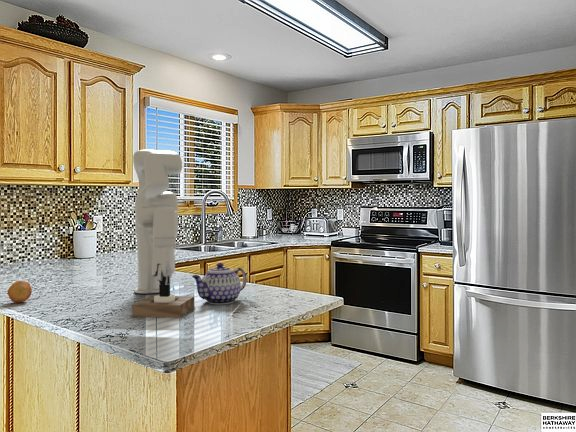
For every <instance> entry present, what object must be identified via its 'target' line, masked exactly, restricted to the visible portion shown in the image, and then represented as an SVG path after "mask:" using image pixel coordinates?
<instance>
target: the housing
mask: <svg viewBox="0 0 576 432" xmlns="http://www.w3.org/2000/svg"><path fill="white" fill-rule="evenodd" d="M154 296H155V295H149V296H147V297H145V298H143V299H141V300H140V301H137V302H134V303H132V305H131V309H132V310H131V312H132V314H131V315H132V318H133V317H134V318H135V317H136V318H173V319H174V318H177V319H179V318H182V317H183V316H184V315H185V314H187V313H188V312H190V311H192V309H194V308H195V296H194V295H193V296H191V295H185V296H184V295H175V301H174V302H172V303H157V302H154Z"/></svg>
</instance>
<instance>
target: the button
mask: <svg viewBox="0 0 576 432" xmlns="http://www.w3.org/2000/svg"><path fill="white" fill-rule="evenodd" d="M153 296H154V302H157V303H172V302H174V301H175V296H176V295H175V294H171V293H170V296H168V297H160V296H159V294H157V295H153Z"/></svg>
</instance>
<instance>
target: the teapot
mask: <svg viewBox="0 0 576 432" xmlns="http://www.w3.org/2000/svg"><path fill="white" fill-rule="evenodd" d="M224 265H225V264H224V263H223V262H217V263H216V267H213V268H209V269H207V272H206V274H205V275H203V276H202V277H201V276H200V275H199V274H194V275H192V276H191V277H192V278H194V280H195V283H196V291H197V294H198V296H199V298H201V299H202V300H206V301H207V303H208V304H210V305H229V304H233V303H234V302H235V301H236V299H237V298H238V297H239V295H240V294H241V291H243V290H244V289H245V287H246V285H247V281H248V279H247V278H248V277H247V274H246V272H245V270H244V269H243V268H241V267H237V268H235V270H234V269H233V268H230V267H227V266H226V267H224ZM239 272H241V274H242V284H241V278H240V276H239V275H238V273H239Z"/></svg>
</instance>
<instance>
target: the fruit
mask: <svg viewBox="0 0 576 432" xmlns="http://www.w3.org/2000/svg"><path fill="white" fill-rule="evenodd" d="M32 292H33V291H32V286H31V284H30V283H29V282H28V281H23V280H17V281H15V282H13V283H12V284H11V285H10V287H9V288H8V290H7V295H8V299H10V301H12V302H14V303H25V302H26V301H28V300H29V298H30V297H31V295H32Z"/></svg>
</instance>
